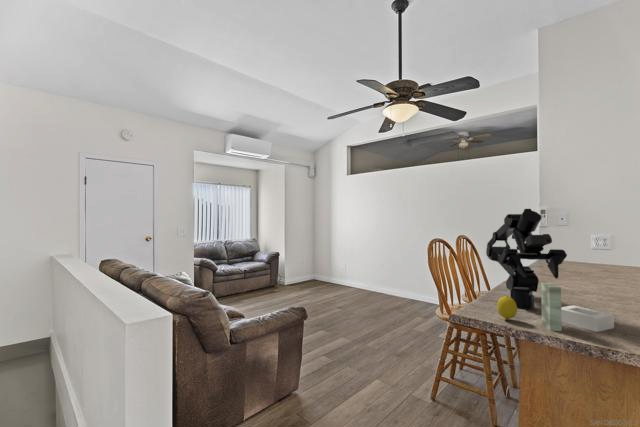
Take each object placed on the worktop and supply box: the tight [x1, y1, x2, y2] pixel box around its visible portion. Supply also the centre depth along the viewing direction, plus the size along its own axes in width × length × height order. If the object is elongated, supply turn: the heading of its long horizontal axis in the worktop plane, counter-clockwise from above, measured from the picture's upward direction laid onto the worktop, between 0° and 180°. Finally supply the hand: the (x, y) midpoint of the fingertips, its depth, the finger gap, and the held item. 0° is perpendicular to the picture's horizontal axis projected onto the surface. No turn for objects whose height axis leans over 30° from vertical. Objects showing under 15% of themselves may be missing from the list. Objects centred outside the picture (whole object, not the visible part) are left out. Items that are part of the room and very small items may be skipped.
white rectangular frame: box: [561, 304, 615, 333], centre depth 94 cm, size 11×9×4 cm
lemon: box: [496, 295, 518, 321], centre depth 98 cm, size 6×6×8 cm
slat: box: [540, 282, 563, 332], centre depth 91 cm, size 5×3×13 cm, turn 166°
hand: (541, 277), depth 98 cm, fingers open, 9 cm apart
